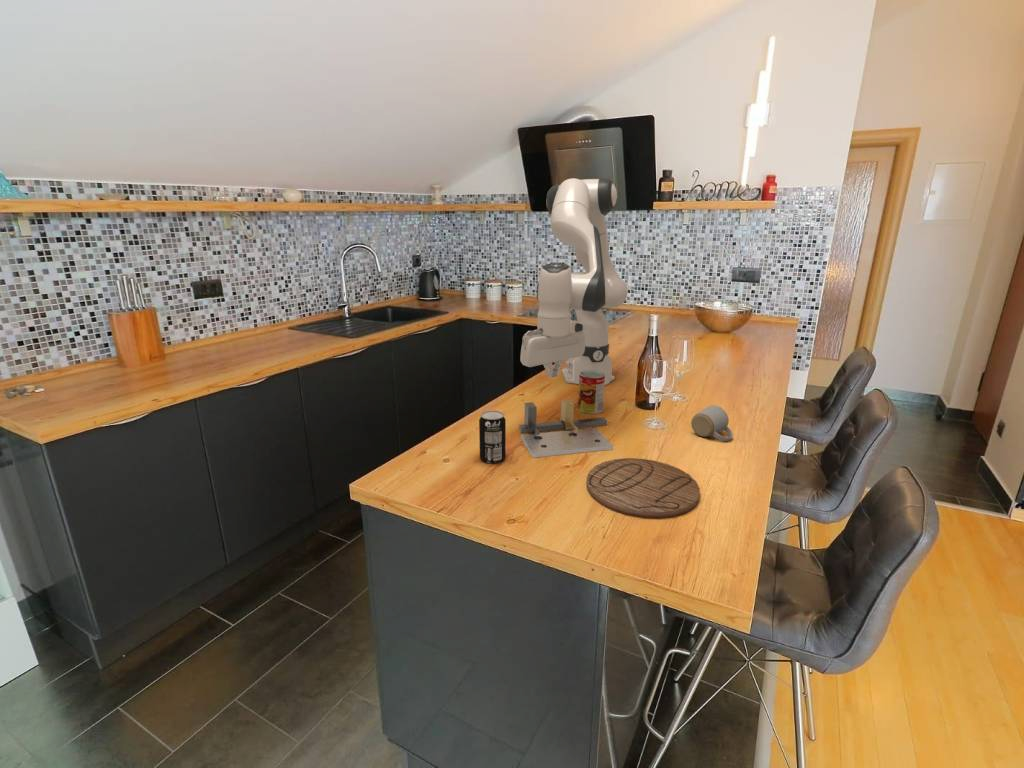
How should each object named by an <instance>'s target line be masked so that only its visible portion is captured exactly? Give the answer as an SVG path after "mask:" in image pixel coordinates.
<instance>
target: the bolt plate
mask: <svg viewBox="0 0 1024 768" xmlns="http://www.w3.org/2000/svg"><path fill="white" fill-rule="evenodd" d="M520 441H522V443H523V445H524V447H525V448H526V449H527V451H528V453H529V454H530V456H531V458H533V459H534V458H542V457H553V456H554V457H555V456H562V455H563V456H564V455H571V454H582V453H591V452H592V453H593V452H601V451H609V450H611V451H612V450H613V448H614V445H613V443H612V442H611V441H609V439H607V438H606V437H605V435H603V433H602V432H601V431H600V430H599V429H598V428H597V427H589V428H584V429H583V428H579V429H578V431H574V430H573V429H569V430H557V431H550V432H549V431H547V432H540V435H536V433H530V434H529V433H525V434H521V435H520Z"/></svg>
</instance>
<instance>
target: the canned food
mask: <svg viewBox="0 0 1024 768" xmlns="http://www.w3.org/2000/svg"><path fill="white" fill-rule="evenodd" d="M604 383H605V373H604V372H601V371H597V370H584V371H581V372H580V373H579V384H578V395H577V396H578V398H577V399H578V400H577V410H578V411H579V413H582V414H587V415H598V414H600V413H602V412H603V411H604V398H605V385H604Z"/></svg>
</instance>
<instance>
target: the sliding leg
mask: <svg viewBox="0 0 1024 768" xmlns="http://www.w3.org/2000/svg"><path fill="white" fill-rule="evenodd" d="M560 406H561V407H560V421H563V422H564V423H565V429H564V431H569V430H574V431H578V430H579V428H577V427H576V426H575V425H574V424H573V420H574V419H575V418H574V413H575V403H574V402H573V401H572V400H571V399H570V398H567V399H561V404H560Z"/></svg>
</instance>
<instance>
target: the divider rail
mask: <svg viewBox="0 0 1024 768" xmlns="http://www.w3.org/2000/svg"><path fill="white" fill-rule="evenodd" d="M537 411H538V410H537V405H536V404H535V403H534V401H531V402H524V424H518V430H520V431H519V433H520V434H528V433H527V432H530V433H534V434H536V435H540V433H541V432H549V431H550V432H552V431H563V430H565V423H564V422H563V421H561V420H560V421H558V420H557V421H548V422H537V414H538V413H537ZM573 424H574V425H575V426H576V427H577V428H578V429H583V428H595V427H603V426H607V425H608V420H607V419H606V418H605V417H602V416H601V417H593V418H592V417H591V418H581V419H579V418H578V419H573ZM539 431H541V432H539Z"/></svg>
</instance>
